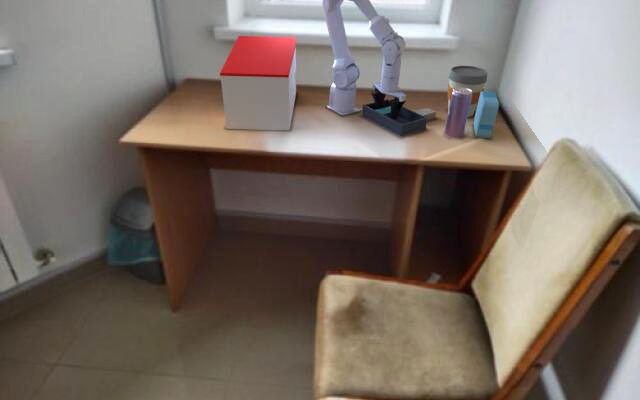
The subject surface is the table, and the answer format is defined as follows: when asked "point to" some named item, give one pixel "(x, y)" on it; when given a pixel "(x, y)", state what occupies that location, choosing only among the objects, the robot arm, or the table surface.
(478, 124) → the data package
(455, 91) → the beverage can
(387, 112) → the block
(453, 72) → the lidded jar
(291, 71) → the red-topped white block
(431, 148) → the table surface
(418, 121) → the box
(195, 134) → the table surface
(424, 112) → the silver metal block
